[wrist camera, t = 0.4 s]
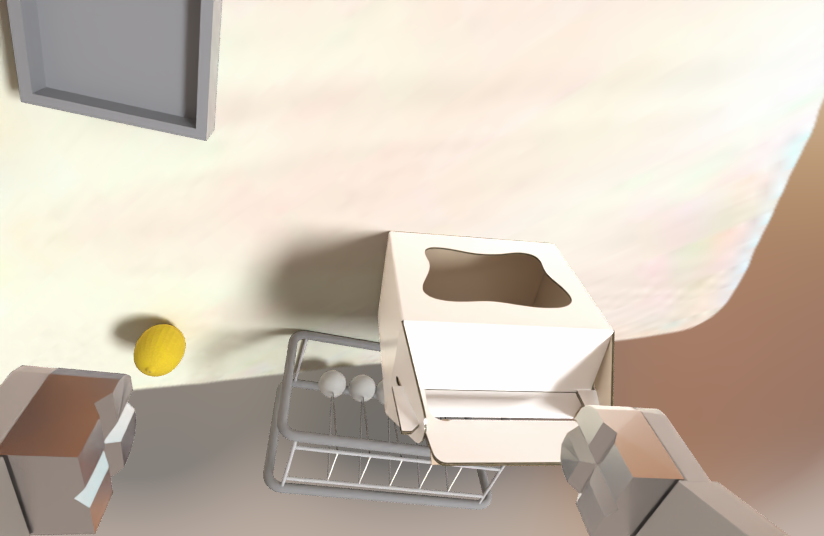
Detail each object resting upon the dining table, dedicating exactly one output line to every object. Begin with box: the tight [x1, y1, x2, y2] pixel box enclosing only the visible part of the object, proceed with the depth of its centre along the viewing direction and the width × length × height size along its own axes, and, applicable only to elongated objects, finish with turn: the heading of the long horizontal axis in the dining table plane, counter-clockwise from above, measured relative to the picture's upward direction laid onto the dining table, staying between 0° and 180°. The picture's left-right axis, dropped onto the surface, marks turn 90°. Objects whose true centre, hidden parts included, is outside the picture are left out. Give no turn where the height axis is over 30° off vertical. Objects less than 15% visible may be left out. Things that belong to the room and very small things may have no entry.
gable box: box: [378, 231, 614, 466], centre depth 54 cm, size 22×13×28 cm, turn 82°
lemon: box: [134, 324, 186, 376], centre depth 61 cm, size 6×6×8 cm
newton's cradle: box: [263, 331, 510, 510], centre depth 66 cm, size 30×10×18 cm, turn 72°
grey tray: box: [7, 0, 222, 141], centre depth 44 cm, size 16×16×4 cm
